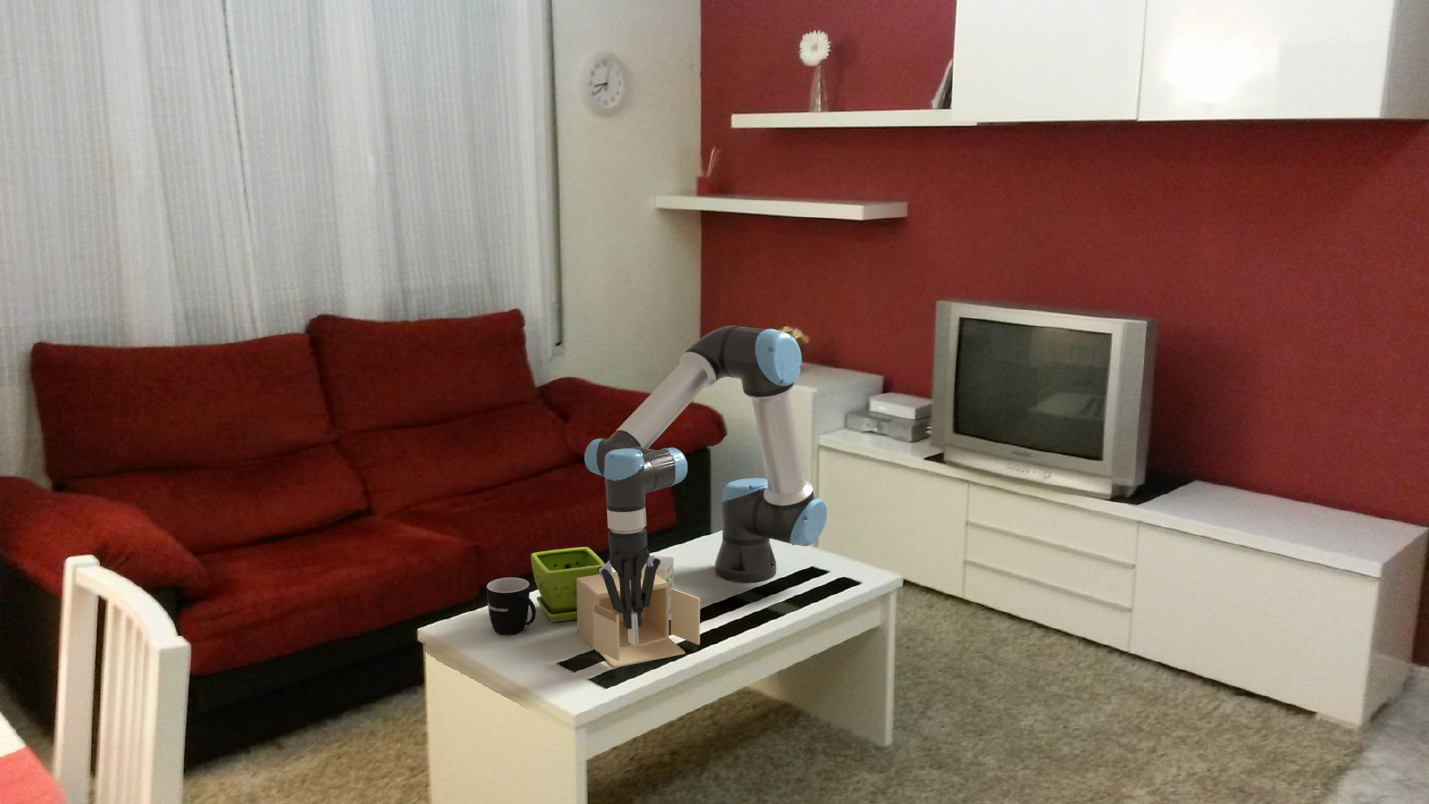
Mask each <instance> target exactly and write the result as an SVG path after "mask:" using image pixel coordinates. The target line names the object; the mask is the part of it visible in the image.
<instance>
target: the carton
mask: <svg viewBox="0 0 1429 804" xmlns="http://www.w3.org/2000/svg"><path fill="white" fill-rule="evenodd" d="M645 568H646V567H643V569H642V578H641V589H642V584H643V578H644V573H645ZM612 577H613V579H614V582H615V585H616V588H617V591H618V594H619V597H620V584H619V578H618V573H617V572H616V571H612ZM630 592H631V585H630ZM620 600H621V598H620ZM594 603H595V604H597V605H599V606H602V607H604V608H606V609H608V610H610V611H612V612H615V613H617V614H619V653H620V660H619V661H617V660H615V659H613V658H611V657H609V656H607V655H605V654H603V653H601V652H599V651H597V650H595V651H596V652H597V653H599V654H600V656H602V657H603V658H604V660H605V661H607V663H609V665H610V666H611V667H612V668H614V669H616V668H621V667H625V666H631V665H635V664H641V663H646V662H651V661H655V660H661V659H666V658H671V657H675V656H680V655H681V656H682V655H685V654H686V652H685V650H684V649H683V648H681V647H680V646H679V645H678V644H677V643H675V641H673V640H672V639H671V638H670V634H671V635H672V636H675V637H677V638H680V639H683V640H685V641H688V642H691V643H693V644H695V645H697V646H698V645H700V644H701V640H700V639H701V638H700V637H701V633H700V631H701V628H700V626H701V618H700V617H701V598H700V597H699V596H698V597H697V596H695V595H692V594H689V593H687V592H685V591H684V592H683V591H681V590H678V589H675V588H674V587H673V588H672V589H671V610H670V611H669V584H668V583H667V582H666V581H665V580H664V579H662V578H661V577H660V576H658V575H657V574H655V580H654V585H653V590H652V595H651V601H650V605H649V607H645V608H643V612H642V613H641V622H642V624H641V627H638V641H639V645H635V646H634V645H632V644H631V643H630V642H628V630H627V629H626V628H625V627H624V625H623V613H619V612H617V611H616V610H614V609H613V606H612V603H611V600H610V597H609V594H608V591H607V588H606V585H605V582H604V579H603V577H602V576H601V575H600V574H599V575H593V576H586V577H580V578H577V619H576V621H577V626H576V627H577V632H578V633H579V635H580V636H581V637H582V638H583V639H584V640H585V641H586V642H587V643H588V644H589V645H590V646H591V647H592V649H594V639H593V604H594Z"/></svg>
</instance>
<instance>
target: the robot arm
mask: <svg viewBox="0 0 1429 804" xmlns="http://www.w3.org/2000/svg"><path fill="white" fill-rule="evenodd" d="M802 362H803V361H802V352H801V348H800V346H799V344H798V342H797V340H796V339H795V337H793V336H792V335H791V334H789V333H787V332H785V331H780V330H777V329H773V328H767V329H765V328H757V327H750V326H749V327H747V326H741V325H727V326H722V327H719V328H717V329H715V330H712V331H711V332H709V333H706V334H705V335H704V336H702V337H701V338H700V339H698V340H697V341H696V342H694V343H693V344H692V345H691V346H689V348H687V350H686V351H685V352H683V354H682V355H681V356H680V358H679V365H677V367H675V368H674V370H672V372H670V374H669V375H668V376H667V377H666V378H665V379H664V380H663V381H662V382H661V383H660V384H659V385H658V386H657V387H656V388H655V390H654V391H652V393H651V394H650V395H649V396H648V397H647V398H645V400H644V401H643V402H642V403H641V404H640V405H639V406H638V407H637V408H636V409H635V410H634V411H633V412H632V414H631V415H630V416H628V418H627V419H625V421H624V422H623V423H622V424H621V425H620V426H619V427H618V428H617V429H616V431H614V433H612V435H611V436H610V437H609V438H596V439H593V440H591V442H590V443H588V445H587V446H586V448H585V452H584V463H585V466H586V468H587V470H589V472H591V473H593V474H596V475H599V476H602V477H603V478H604V484H605V498H606V499H605V500H606V513H607V516H606V517H607V528H608V529H609V530H608V532H607V533H608V534H607V535H608V549H609V555H608V556H607V562H606V563H604V564H605V565H604V566H603V567H598V572H599V573H600V575H601V576H602V577H603V579H604V582H605V585H606V588H607V591H608V594H609V597H610V600H611V603H612V606H613V609H614V610H616V611H617V612H619V613H623V625H624V627H625V628H626V629H627V630H628V642H630V643H631V644H632V645H634V646H635V645H639V641H638V627H641V624H642V622H641V613H642V612H643V608H645V607H649V605H650V601H651V595H652V590H653V585H654V580H655V574H656V570H657V568H658V566H659V564H660V560H659V559H658V558H656V557H654V556H655V555H653V556H651V553H650V551H649V550H648V534H647V533H648V532H647V528H645V527H647V514H646V513H647V511H646V494H648V493H649V494H650V493H652V492H655V491H658V490H663V489H665V488H670V487H671V488H672V486H674V485H676V484H679V483H682V481H683V480H684V479H685V478H686V476H687V474H688V461H687V459H686V457H685V455H684V454H683V452H682V451H681V450H679V449H677V448H675V447H668V448H667V447H666V448H665V447H663V448H661V449H658V450H657V449H651V448H650V447H651V446H652V445H653V443H655V441H656V440H657V439H658V438H659V437H660V436H661V435H662V434H663V433H664V432H665V430H667V428H668V427H669V426H670V425H672V423H673V422H674V421H675V420H676V419H677V418H678V417H679V415H680V414H681V413H683V411H685V409H686V408H687V407H688V406H689V405H690V404H691V402H692V401H693V400H694V399H696V397H697V396H698V395H699V394H700V393H701V392H702V391H703V389H705V388H710V387H712V386H713V385H714V384H716V382H717V381H719V380H720V379H723V378H732V379H733V378H734V379H739V380H740V381H741V387H742V390H743V393H744V395H745V396H747V397H748V398H751V401H752V407H753V413H754V417H755V423H756V427H757V432H758V433H757V434H758V438H759V444H760V450H761V454H762V461H763V464H764V470H765V476H766V478H763V477H762V478H761V477H752V478H751V477H750V478H743V479H736V480H733V481H732V480H731V481H730V482H728V483H726V484H725V485H724V487H723V489H722V491H723V492H722V500H721V502H722V504H721V506H722V513H721V514H722V516H721V517H722V519H721V520H722V529H721V530H722V536H721V537H722V538H721V539H722V540H721V545H720V547H719V550H718V553H717V556H716V558H715V561H714V572H715V574H716V576H718V577H719V578H722V579H724V580H729V581H733V582H739V583H740V582H743V583H744V582H745V583H747V582H751V583H753V582H761V581H765V580H769V579H771V578H773V577H774V576H775V575H777V561H776V558H775V555H774V552H773V548H772V545H771V542H770V541H771V540H775V541H779V542H782V543H787V544H791V545H792V546H800V547H809V546H811V545H813V544H814V543H815V542H816V541H818V539H819V538H820V536H821V535H822V533H823V531H824V528H825V526H826V522H827V517H828V508H827V505H826V502H825V501H824V500H822V499H821V498H820V497H819V498H817V497H815V494H814V489H813V485H812V483H811V482H810V481H808V480H806V478H805V475H804V468H803V463H802V458H801V452H800V447H799V446H800V445H799V440H798V432H797V428H796V422H795V417H794V412H793V405H792V400H791V393H790V392H791V390H792V389H793V388H794V386H795V382H796V380H797V379H798V377H799V375H800V373H801V371H802V370H801V368H800V366H802V365H803V364H802ZM645 564H646V568H645V573H644V578H643V584H642V589H641V578H642V569H643V567H644V565H645ZM613 570H614V572H617V573H618V578H619V584H620V597H619V594H618V591H617V588H616V585H615V582H614V579H613V577H612V572H613ZM630 585H631V592H630ZM620 598H621V600H620Z"/></svg>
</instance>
